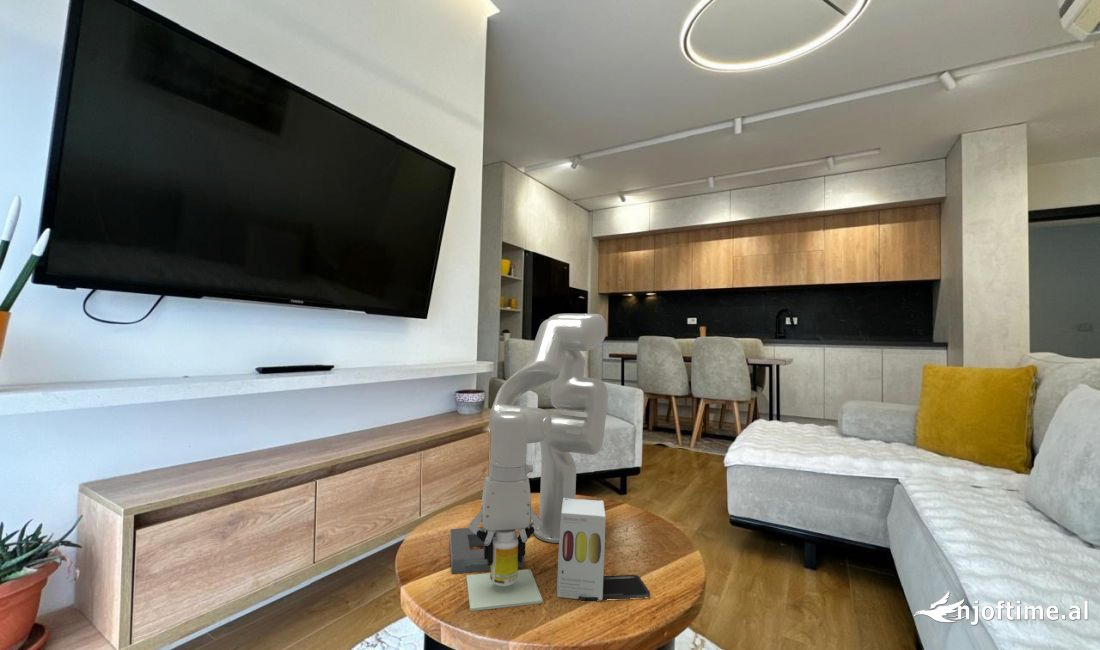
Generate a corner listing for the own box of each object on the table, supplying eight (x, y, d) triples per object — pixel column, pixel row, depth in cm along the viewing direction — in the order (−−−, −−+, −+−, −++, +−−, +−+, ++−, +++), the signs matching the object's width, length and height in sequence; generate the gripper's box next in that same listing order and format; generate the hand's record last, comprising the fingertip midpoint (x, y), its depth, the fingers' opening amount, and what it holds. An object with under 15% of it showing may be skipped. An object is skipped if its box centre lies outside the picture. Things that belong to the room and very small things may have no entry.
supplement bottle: (522, 581, 88) (524, 530, 89) (499, 590, 85) (501, 537, 85) (507, 570, 93) (509, 521, 93) (485, 578, 89) (487, 527, 90)
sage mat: (530, 571, 96) (530, 569, 96) (542, 603, 84) (542, 600, 84) (466, 577, 93) (466, 575, 93) (470, 611, 81) (470, 608, 81)
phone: (571, 577, 93) (638, 574, 95) (571, 582, 93) (638, 579, 95) (579, 598, 85) (651, 594, 87) (579, 604, 85) (651, 600, 87)
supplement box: (556, 598, 86) (559, 512, 87) (558, 574, 95) (561, 496, 96) (604, 602, 86) (606, 515, 86) (601, 577, 95) (604, 499, 96)
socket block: (512, 536, 113) (512, 524, 113) (524, 567, 98) (524, 553, 98) (449, 541, 109) (450, 529, 109) (451, 574, 94) (452, 559, 94)
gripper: (543, 465, 95) (540, 549, 95) (464, 468, 91) (461, 555, 90) (552, 475, 88) (549, 566, 87) (467, 479, 84) (463, 574, 83)
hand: (504, 559), depth 89 cm, fingers closed on supplement bottle, 5 cm apart
